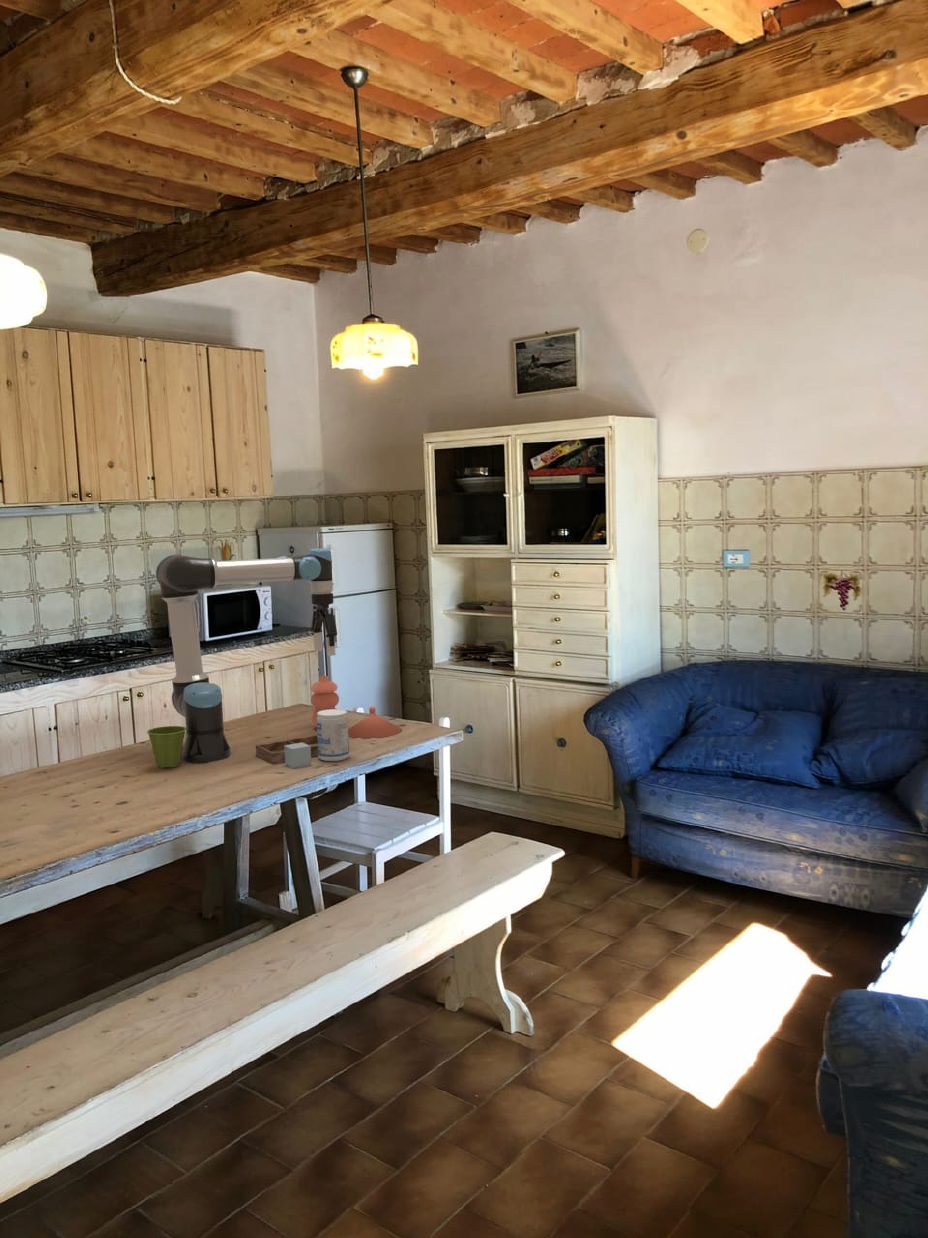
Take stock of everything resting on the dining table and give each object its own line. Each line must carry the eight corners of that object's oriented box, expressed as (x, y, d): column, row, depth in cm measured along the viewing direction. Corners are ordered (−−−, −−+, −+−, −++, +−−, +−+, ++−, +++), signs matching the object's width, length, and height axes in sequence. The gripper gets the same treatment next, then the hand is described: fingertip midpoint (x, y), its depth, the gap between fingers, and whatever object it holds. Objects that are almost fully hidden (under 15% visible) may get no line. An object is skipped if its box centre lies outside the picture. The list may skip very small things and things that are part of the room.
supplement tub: (312, 760, 311) (309, 714, 309) (330, 753, 319) (327, 708, 318) (338, 763, 306) (335, 716, 305) (355, 755, 315) (353, 709, 313)
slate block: (293, 768, 302) (292, 749, 302) (285, 764, 307) (284, 745, 307) (311, 765, 305) (310, 746, 305) (303, 761, 310) (302, 742, 310)
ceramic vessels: (414, 728, 352) (412, 675, 349) (384, 741, 333) (381, 686, 331) (331, 721, 367) (328, 671, 365) (297, 734, 348) (294, 681, 346)
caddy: (273, 764, 308) (272, 753, 307) (256, 755, 319) (255, 745, 319) (349, 750, 322) (348, 740, 321) (330, 742, 333) (329, 733, 333)
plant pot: (177, 770, 304) (175, 734, 303) (141, 770, 306) (139, 734, 305) (195, 760, 316) (193, 725, 314) (161, 760, 318) (158, 725, 317)
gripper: (345, 594, 339) (347, 656, 342) (320, 590, 361) (323, 648, 364) (323, 595, 336) (326, 658, 338) (300, 591, 358) (303, 650, 360)
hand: (324, 653), depth 351 cm, fingers open, 13 cm apart
